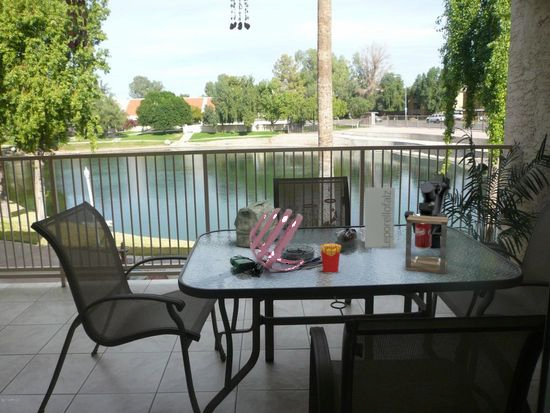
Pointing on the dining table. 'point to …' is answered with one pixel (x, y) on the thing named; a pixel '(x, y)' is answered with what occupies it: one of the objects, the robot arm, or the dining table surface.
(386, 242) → the white box
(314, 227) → the dining table surface
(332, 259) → the french fries
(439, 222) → the wooden open frame
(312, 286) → the dining table surface
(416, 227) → the soda can
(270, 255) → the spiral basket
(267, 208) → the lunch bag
